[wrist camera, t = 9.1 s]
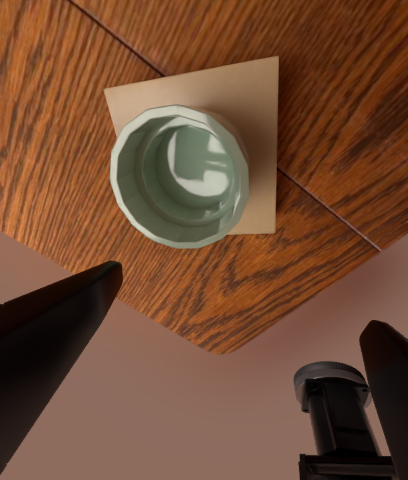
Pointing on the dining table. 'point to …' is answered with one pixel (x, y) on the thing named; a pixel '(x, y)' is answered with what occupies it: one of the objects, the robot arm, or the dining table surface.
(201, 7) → the dining table surface
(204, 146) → the bowl
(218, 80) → the plate
